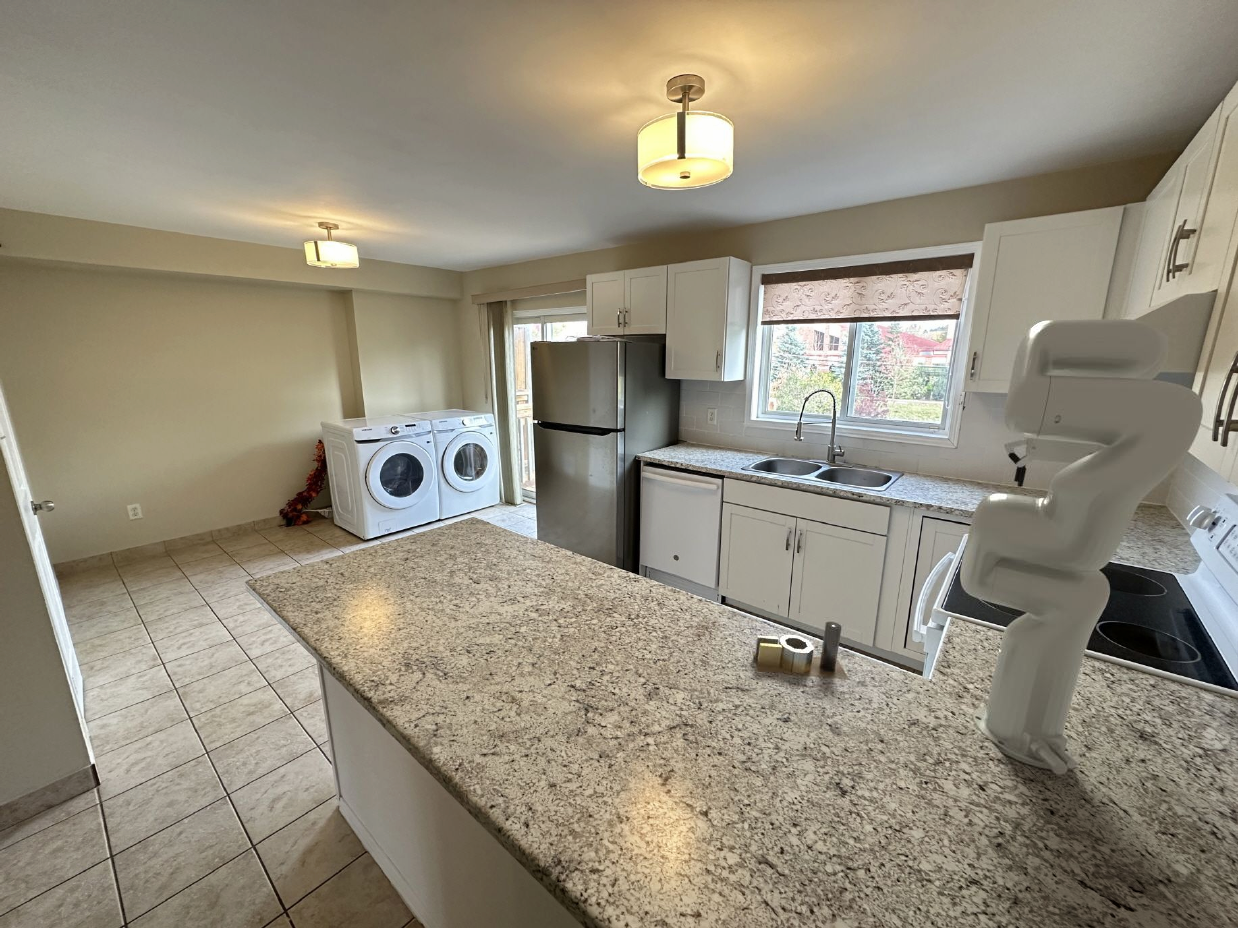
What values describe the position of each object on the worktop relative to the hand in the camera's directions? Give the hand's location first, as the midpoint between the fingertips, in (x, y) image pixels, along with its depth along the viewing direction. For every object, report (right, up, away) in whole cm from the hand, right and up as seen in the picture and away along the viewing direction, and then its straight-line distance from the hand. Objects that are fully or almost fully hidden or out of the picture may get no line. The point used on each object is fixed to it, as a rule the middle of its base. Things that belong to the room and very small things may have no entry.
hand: (1050, 490), depth 96 cm
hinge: (-54, -34, -2) cm, 64 cm away
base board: (-51, -35, -2) cm, 62 cm away
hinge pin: (-46, -35, -2) cm, 58 cm away
